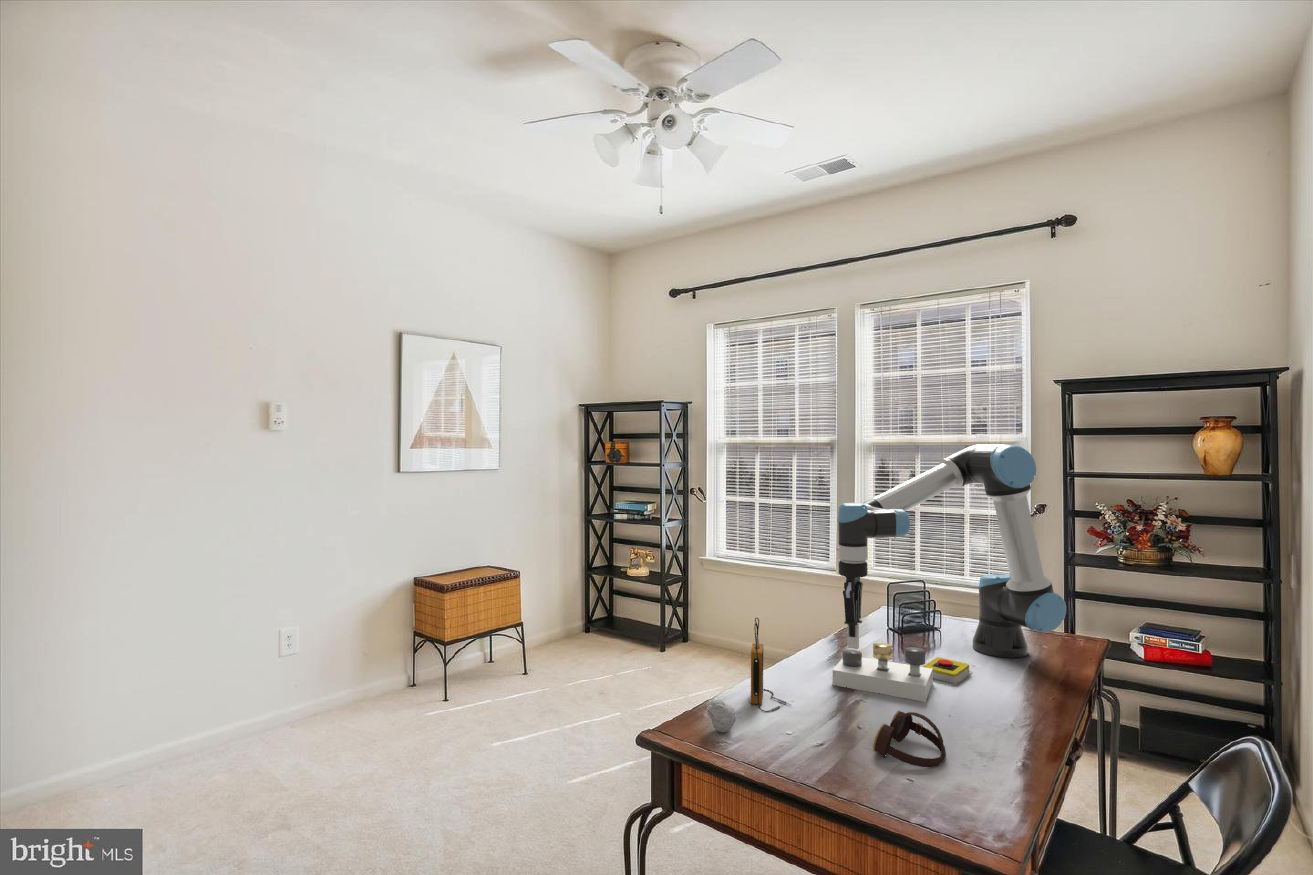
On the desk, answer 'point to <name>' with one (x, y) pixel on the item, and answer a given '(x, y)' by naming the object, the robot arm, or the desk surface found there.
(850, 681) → the mount plate
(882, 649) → the knob middle
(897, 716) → the goggles
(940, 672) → the emergency button
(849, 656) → the knob far
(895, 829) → the desk surface
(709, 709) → the crumpled paper ball
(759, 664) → the multimeter
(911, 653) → the knob near
